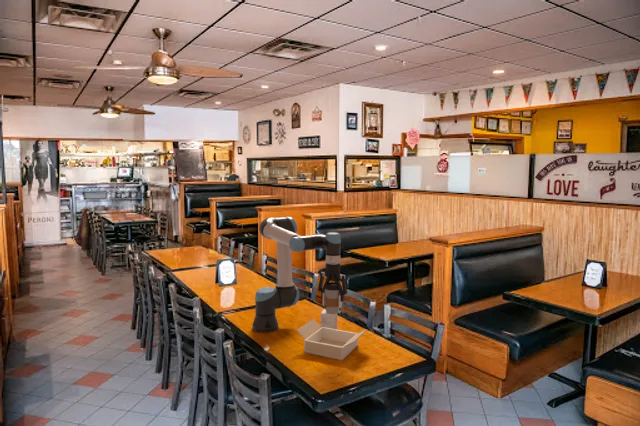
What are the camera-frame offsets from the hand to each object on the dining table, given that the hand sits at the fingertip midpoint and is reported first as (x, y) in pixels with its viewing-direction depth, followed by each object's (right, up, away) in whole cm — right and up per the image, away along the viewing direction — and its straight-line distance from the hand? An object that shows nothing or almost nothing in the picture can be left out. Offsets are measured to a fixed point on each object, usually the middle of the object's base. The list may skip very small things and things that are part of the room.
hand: (332, 306), depth 235 cm
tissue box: (-1, -21, +28) cm, 35 cm away
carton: (0, -23, +2) cm, 23 cm away
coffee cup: (0, -4, 0) cm, 4 cm away
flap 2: (+12, -15, -4) cm, 20 cm away
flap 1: (-12, -13, +7) cm, 19 cm away
